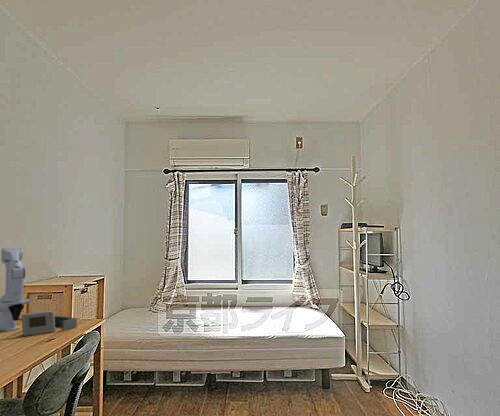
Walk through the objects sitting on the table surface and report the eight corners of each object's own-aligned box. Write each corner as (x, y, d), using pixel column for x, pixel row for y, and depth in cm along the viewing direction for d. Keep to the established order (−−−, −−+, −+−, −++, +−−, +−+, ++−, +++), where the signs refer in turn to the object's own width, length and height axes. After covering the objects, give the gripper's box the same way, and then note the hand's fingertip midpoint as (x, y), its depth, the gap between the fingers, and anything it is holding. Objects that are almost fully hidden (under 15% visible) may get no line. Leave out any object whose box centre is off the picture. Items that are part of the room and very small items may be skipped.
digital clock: (21, 337, 214) (22, 315, 215) (20, 333, 222) (20, 312, 222) (56, 333, 223) (57, 312, 224) (53, 329, 231) (54, 309, 231)
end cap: (43, 328, 234) (44, 318, 234) (57, 324, 243) (57, 315, 243) (63, 330, 229) (64, 321, 229) (76, 327, 237) (76, 318, 237)
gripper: (9, 294, 202) (8, 323, 202) (35, 291, 216) (34, 318, 215) (-2, 293, 205) (-3, 322, 204) (24, 290, 218) (23, 317, 218)
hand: (15, 320), depth 210 cm, fingers closed
